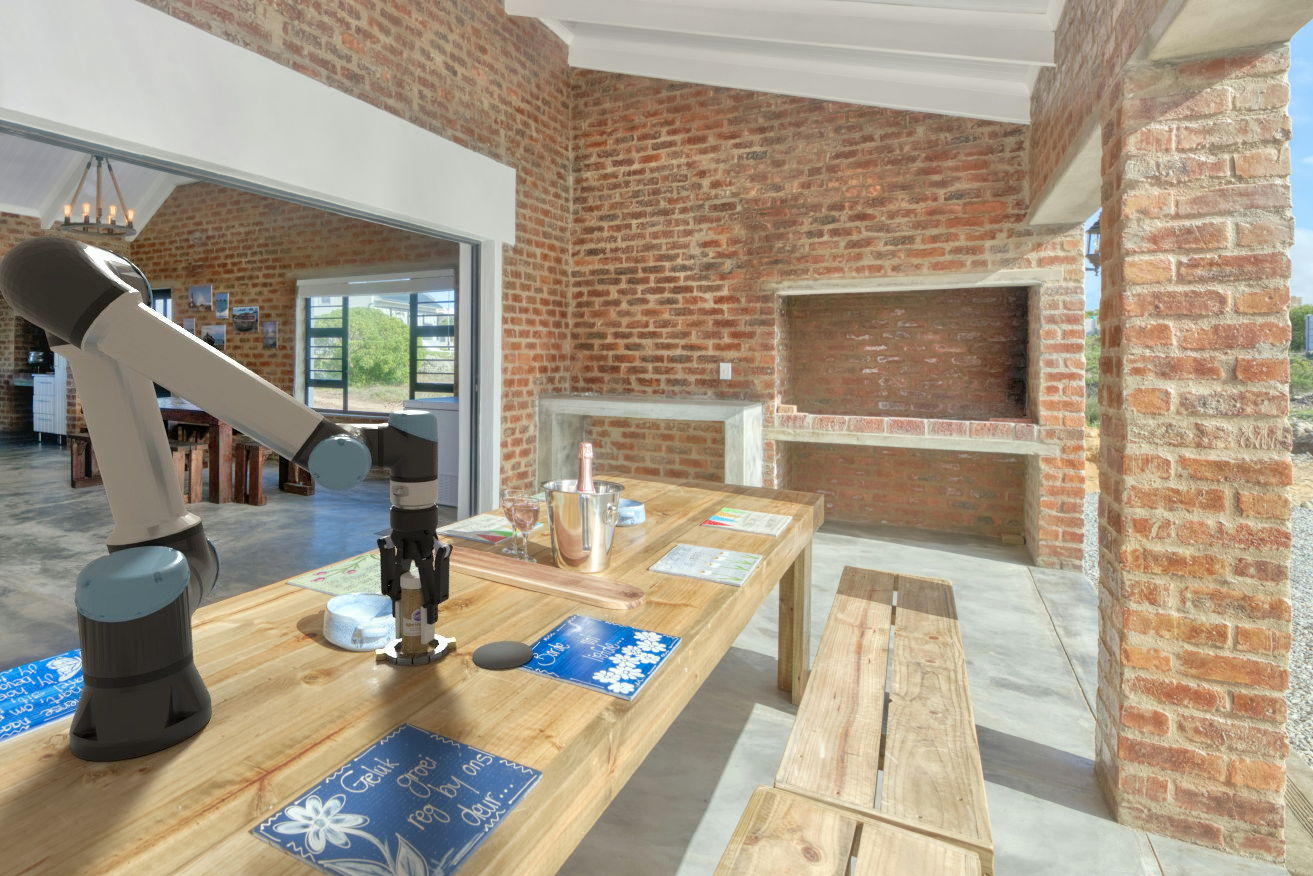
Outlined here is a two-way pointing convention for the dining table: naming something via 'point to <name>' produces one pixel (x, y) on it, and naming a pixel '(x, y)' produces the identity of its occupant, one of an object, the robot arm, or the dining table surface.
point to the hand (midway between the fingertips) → (415, 638)
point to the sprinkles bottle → (411, 614)
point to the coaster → (502, 655)
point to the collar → (418, 659)
